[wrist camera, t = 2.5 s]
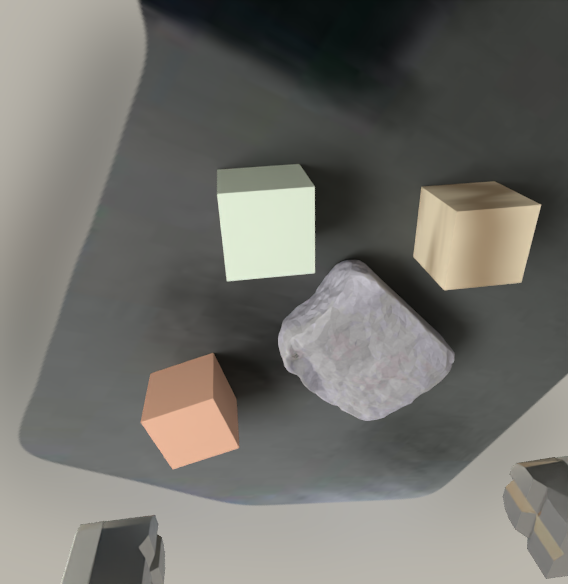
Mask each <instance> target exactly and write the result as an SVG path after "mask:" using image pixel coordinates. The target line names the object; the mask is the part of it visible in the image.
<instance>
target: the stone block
mask: <svg viewBox="0 0 568 584" xmlns="http://www.w3.org/2000/svg"><path fill="white" fill-rule="evenodd" d="M278 346H279V349H280V353H281V357H282V359H283V362H284V366H285V368H286V369H287V370H288V371H289V372H291V373H293V374H295V375H298V376H299V378H300V379H301V381H302V383H303V384H304V385H305V386H306V387H307V388H308V389H309V390H310V391H312V392H313V393H316V394H317V395H318V396H319V397H320V398H322V400H325V401H327V402H328V403H330V404H332V405H336V406H339V407H340V408H341V410H343V411H345V412H347V413H349V414H351V415H353V416H355V417H357V418H359V419H362V420H367V421H370V420H376V419H380V418H384V417H385V416H387V415H388V414H390V413H392V412H394V411H396V410H398V409H399V408H401V407H403V406H405V405H408V404H410V403H412V402H413V401H414V399H415V398H417V397H418V396H419V395H420V394H422V393H424V392H426V391H429V390H430V389H431V388H432V387H433V386H435V385H436V384H438V383H439V382H440V381H441V380H442V379H443V378H444V377H445V376H446V375H447V374H448V373H449V372H450V369H451V366H452V363H453V362H454V355H455V353H454V351H453V350H452V349H451V347H450V346H449V345H448V344H447V343H446V342H445V340H444V339H443V337H442V336H441V335H440V334H439V333H438V332H437V331H436V330H435V329H434V328H433V327H432V326H431V325H429V324H428V323H427V322H426V321H425V320H424V319H423V318H422V317H421V316H420V315H419V314H418V313H417V312H416V311H414V310H413V309H412V308H411V307H410V306H409V305H408V304H407V303H406V302H405V301H404V300H403V299H402V298H401V297H400V296H399V295H397V294H396V293H395V292H394V291H393V290H392V289H391V288H390V287H389V286H388V285H387V284H385V283H384V282H383V281H382V280H381V279H380V278H379V277H378V276H377V275H376V274H375V273H374V272H373V271H372V270H371V269H370V268H369V267H368V266H367V265H366V264H365V263H363V262H362V261H360V260H345V261H341V262H340V263H338V264H336V265H335V266H334V268H333V269H332V270H331V271H330V272H329V274H328V275H327V276H326V277H325V279H324V280H323V282H322V283H321V284H320V285H319V287H318V288H317V290H316V293H315V294H314V295H313V296H312V297H311V298H310V299H309V300H307V301H305V302H304V303H303V304H301V305H299V306H297V307H296V308H295V309H294V310H293V311H292V312H291V313H290V314H289V315H288V316H287V317H286V318H285V319H284V321H283V323H282V327H281V330H280V333H279V337H278Z"/></svg>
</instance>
